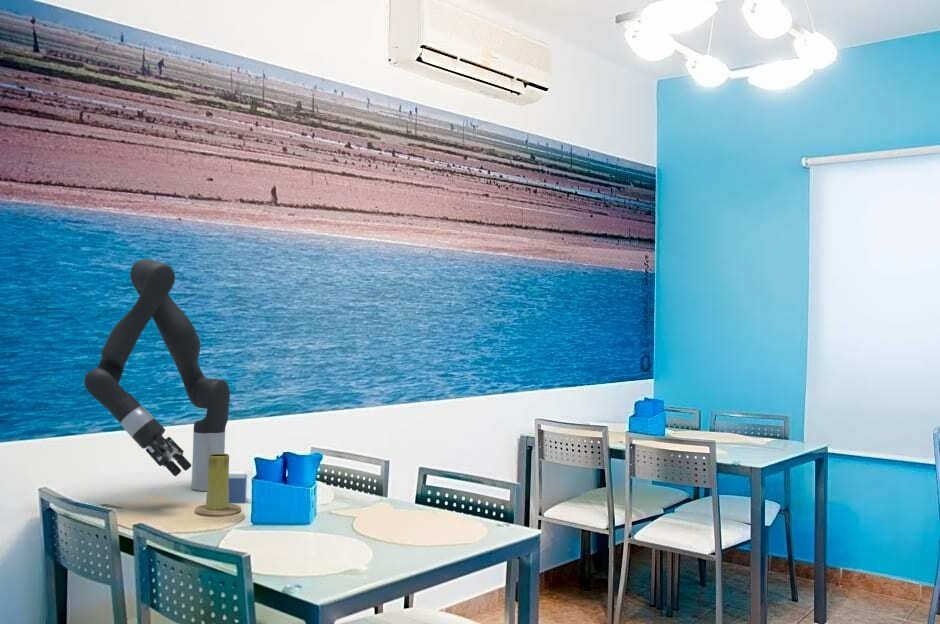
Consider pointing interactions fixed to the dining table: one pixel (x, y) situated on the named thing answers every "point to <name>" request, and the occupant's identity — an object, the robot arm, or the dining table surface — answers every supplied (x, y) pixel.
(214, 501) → the vase
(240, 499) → the slate blue block
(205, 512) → the disc
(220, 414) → the robot arm
